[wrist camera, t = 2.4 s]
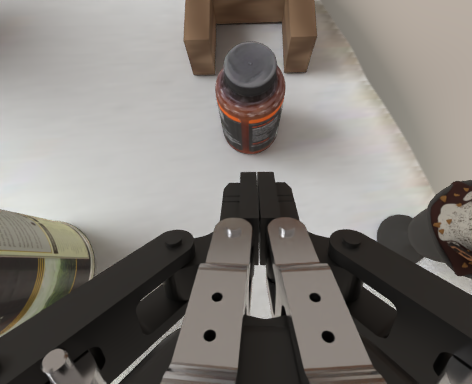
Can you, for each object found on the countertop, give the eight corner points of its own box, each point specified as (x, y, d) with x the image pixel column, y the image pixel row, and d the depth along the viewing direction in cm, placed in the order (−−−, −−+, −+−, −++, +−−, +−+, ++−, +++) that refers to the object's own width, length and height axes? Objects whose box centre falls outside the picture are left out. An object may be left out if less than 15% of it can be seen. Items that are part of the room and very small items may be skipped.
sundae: (421, 199, 30) (586, 141, 15) (446, 264, 28) (657, 269, 14) (358, 214, 30) (465, 169, 15) (381, 280, 28) (523, 302, 14)
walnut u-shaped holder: (193, 74, 34) (183, 40, 29) (196, 4, 36) (187, -41, 31) (305, 72, 33) (317, 36, 28) (301, 0, 36) (310, -46, 30)
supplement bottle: (287, 123, 32) (307, 53, 21) (257, 166, 31) (262, 115, 20) (243, 97, 33) (240, 16, 22) (212, 137, 32) (194, 73, 21)
